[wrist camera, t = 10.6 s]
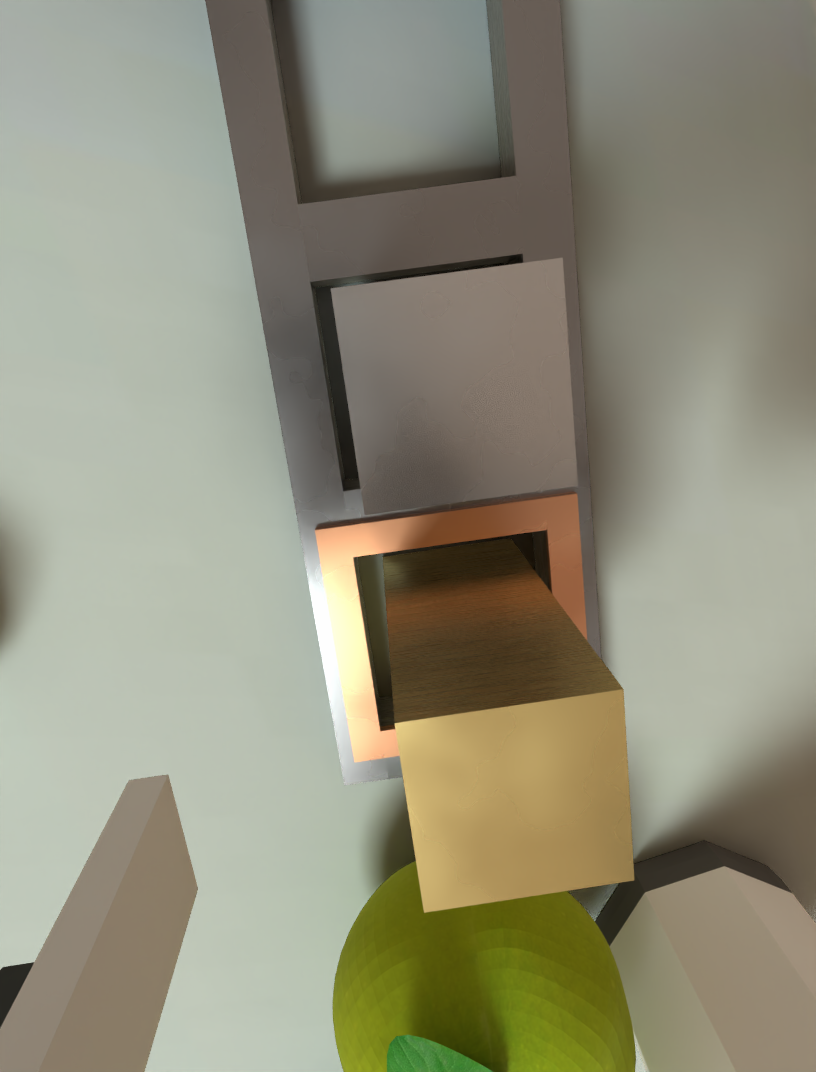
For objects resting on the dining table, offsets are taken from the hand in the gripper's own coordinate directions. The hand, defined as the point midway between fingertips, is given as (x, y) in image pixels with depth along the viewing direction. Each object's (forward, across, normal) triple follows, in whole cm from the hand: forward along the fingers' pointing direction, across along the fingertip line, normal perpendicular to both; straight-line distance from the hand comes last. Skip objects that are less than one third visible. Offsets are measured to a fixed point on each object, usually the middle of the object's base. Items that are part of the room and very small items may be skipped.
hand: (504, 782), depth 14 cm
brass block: (+11, 0, -1) cm, 11 cm away
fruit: (+11, -1, -13) cm, 17 cm away
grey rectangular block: (+11, 0, +7) cm, 13 cm away
